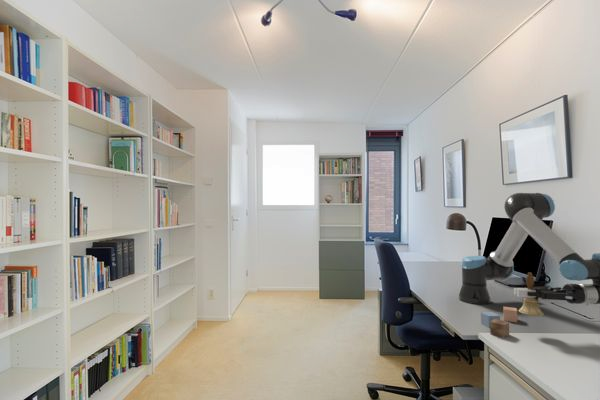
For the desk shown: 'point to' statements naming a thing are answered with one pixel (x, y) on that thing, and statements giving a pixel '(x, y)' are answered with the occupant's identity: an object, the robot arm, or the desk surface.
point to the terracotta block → (510, 314)
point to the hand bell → (530, 300)
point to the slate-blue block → (488, 318)
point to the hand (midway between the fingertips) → (516, 292)
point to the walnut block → (499, 328)
